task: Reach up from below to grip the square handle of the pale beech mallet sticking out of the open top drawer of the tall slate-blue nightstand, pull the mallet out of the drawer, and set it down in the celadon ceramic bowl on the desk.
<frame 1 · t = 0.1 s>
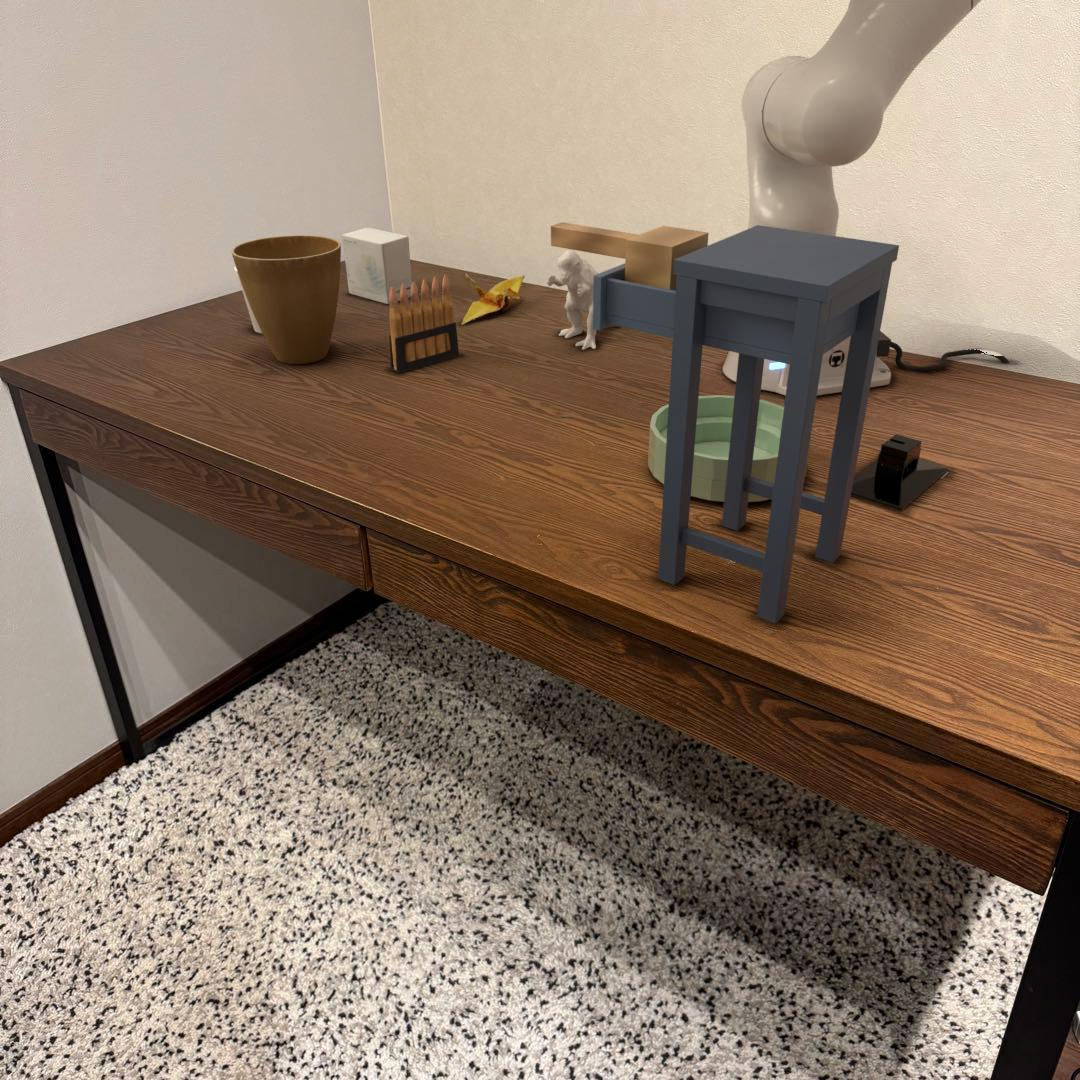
ammunition clip: (425, 364, 137), on the table
dinosaur figurine: (593, 336, 146), on the table
nightstand: (741, 563, 89), on the table
origami crane: (494, 311, 157), on the table
bowl: (725, 470, 106), on the table
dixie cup: (272, 328, 151), on the table
plant pot: (302, 357, 140), on the table
cosmetics box: (381, 296, 166), on the table
black slotted stand: (893, 482, 103), on the table
mallet: (663, 305, 83), point 23 cm above the table, touching nightstand
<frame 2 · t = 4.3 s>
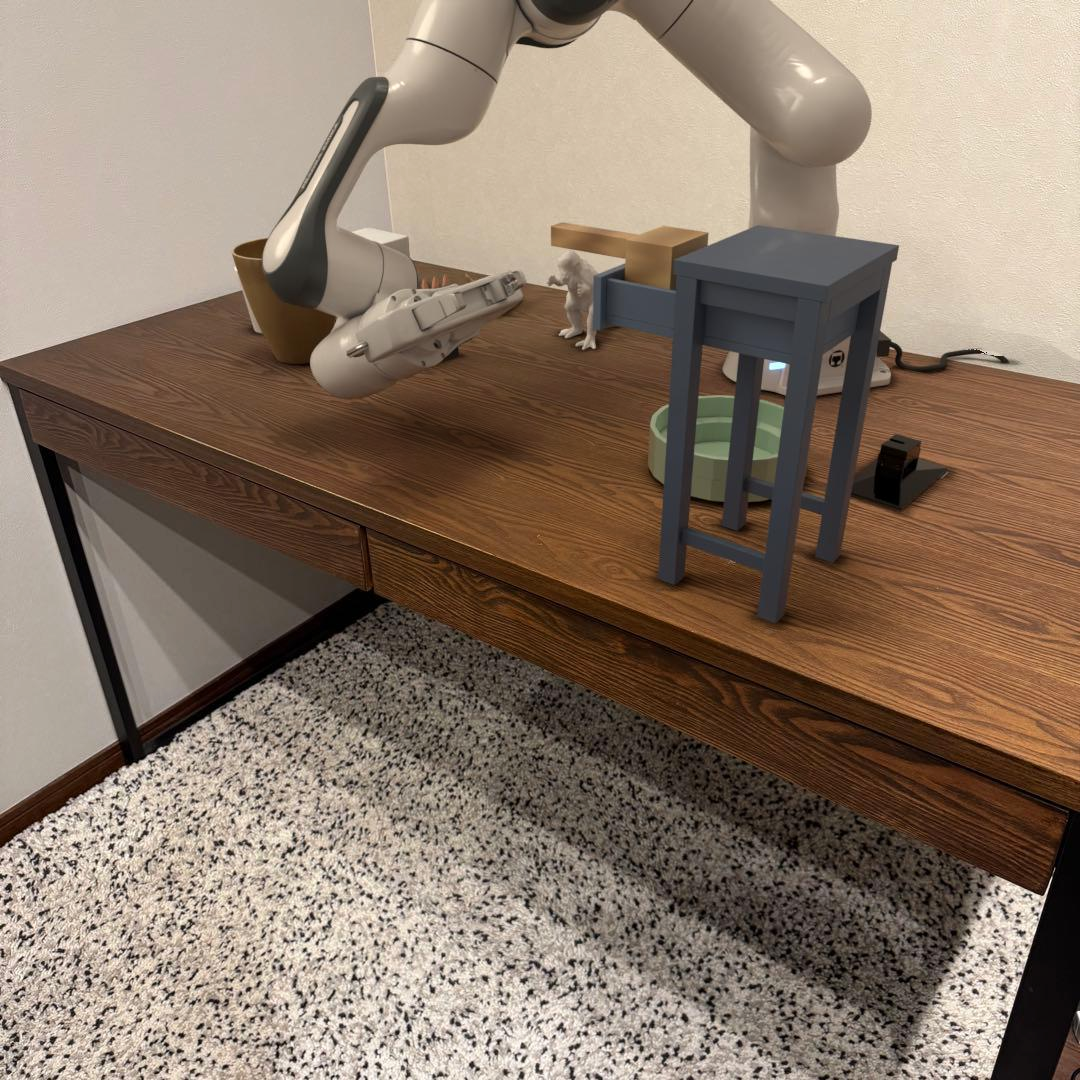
hand: (490, 288, 94), 21 cm above the table, tool pointing upward, fingers open, 8 cm apart
nothing on the table moved.
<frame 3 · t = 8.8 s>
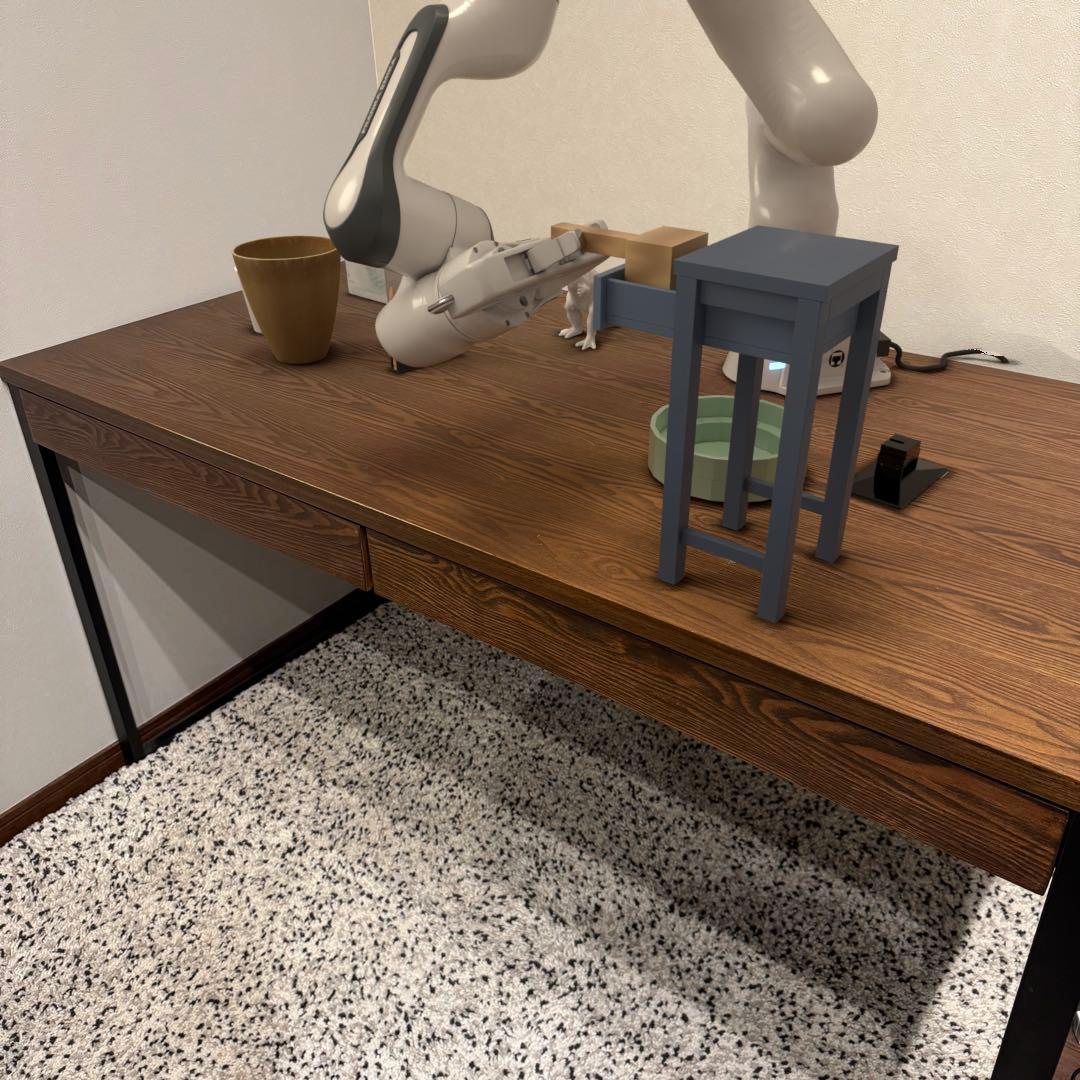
hand: (590, 234, 84), 28 cm above the table, tool pointing upward, fingers closed on mallet
mallet: (663, 305, 83), point 23 cm above the table, touching gripper, nightstand
everything else where it was.
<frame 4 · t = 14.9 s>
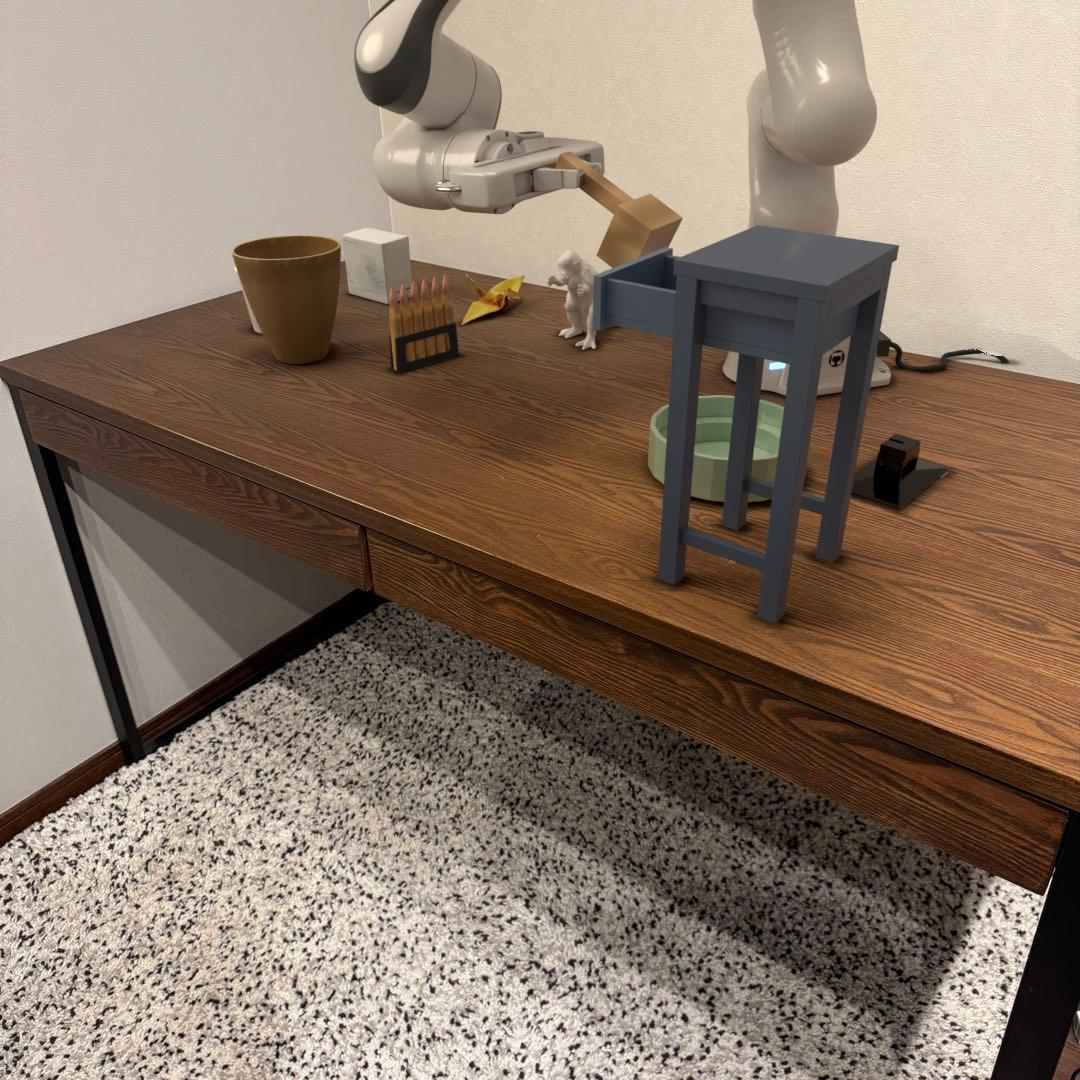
hand: (590, 175, 98), 30 cm above the table, tool horizontal, fingers closed on mallet
mallet: (628, 261, 100), point 22 cm above the table, tilted 26°, touching gripper
everything else where it was.
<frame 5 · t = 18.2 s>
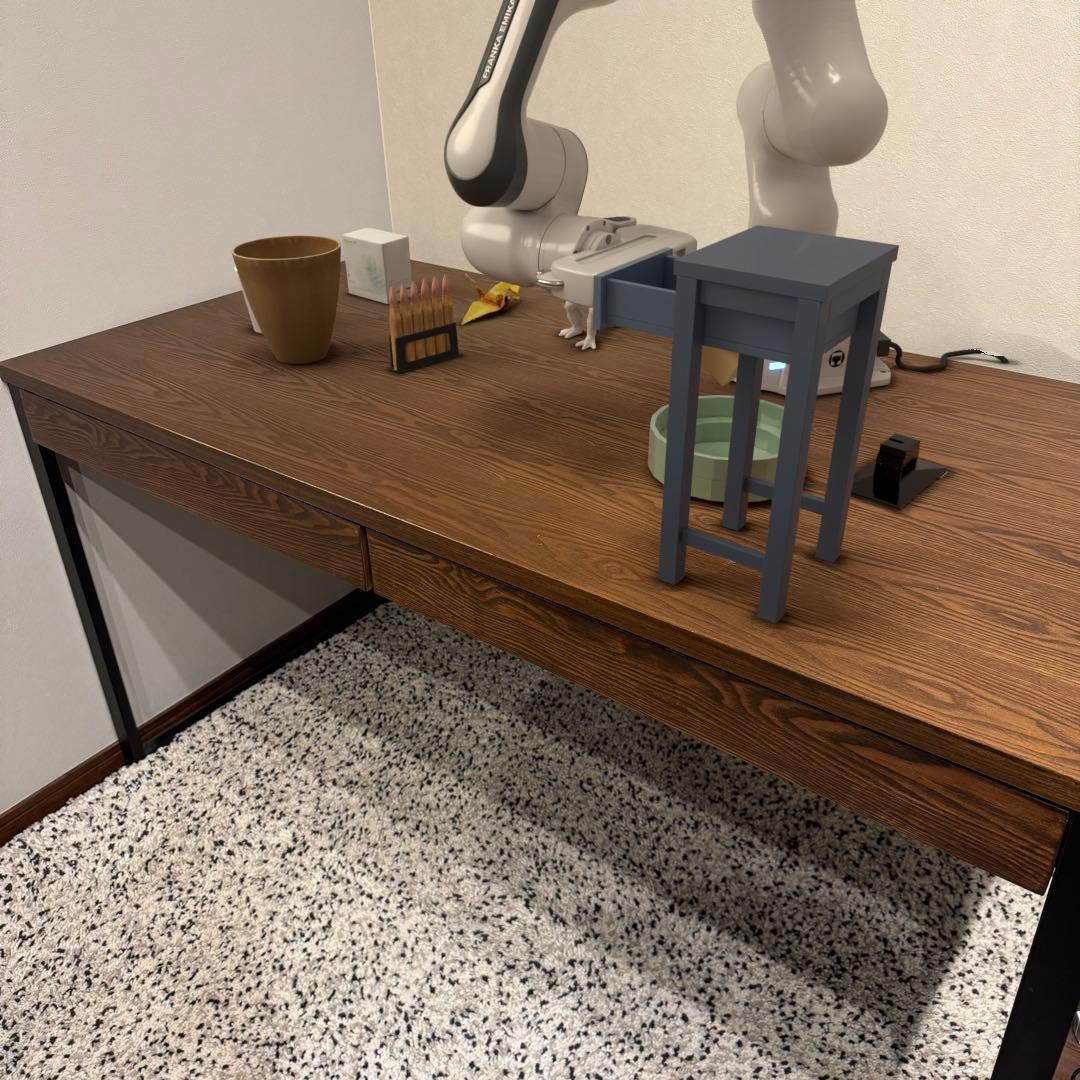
hand: (691, 278, 99), 21 cm above the table, tool horizontal, fingers closed on mallet
mallet: (721, 363, 101), point 12 cm above the table, tilted 30°, touching gripper
everything else where it was.
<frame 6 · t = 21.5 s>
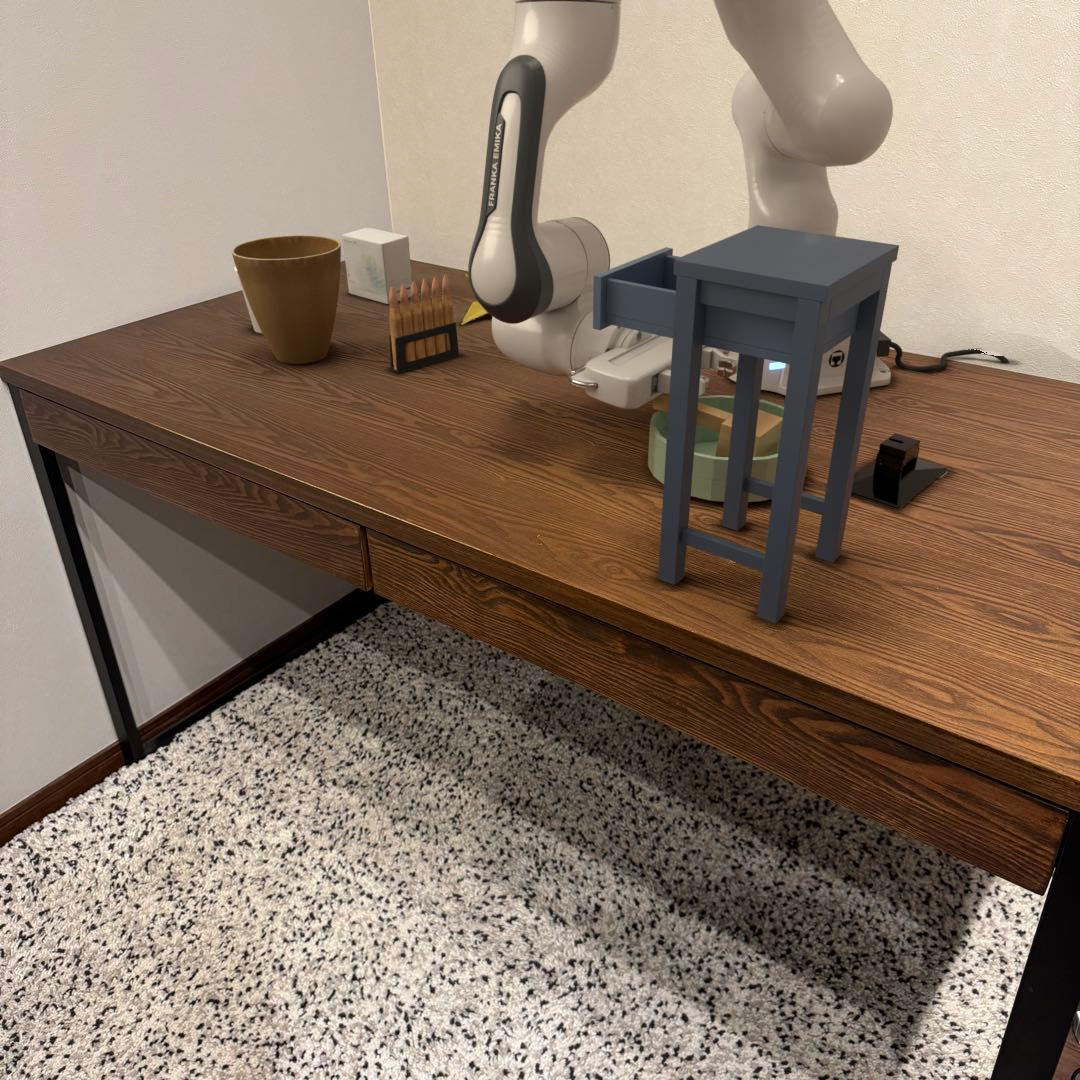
hand: (721, 377, 101), 11 cm above the table, tool horizontal, fingers open, 5 cm apart
mallet: (742, 469, 104), point 1 cm above the table, tilted 5°, touching bowl
everything else where it was.
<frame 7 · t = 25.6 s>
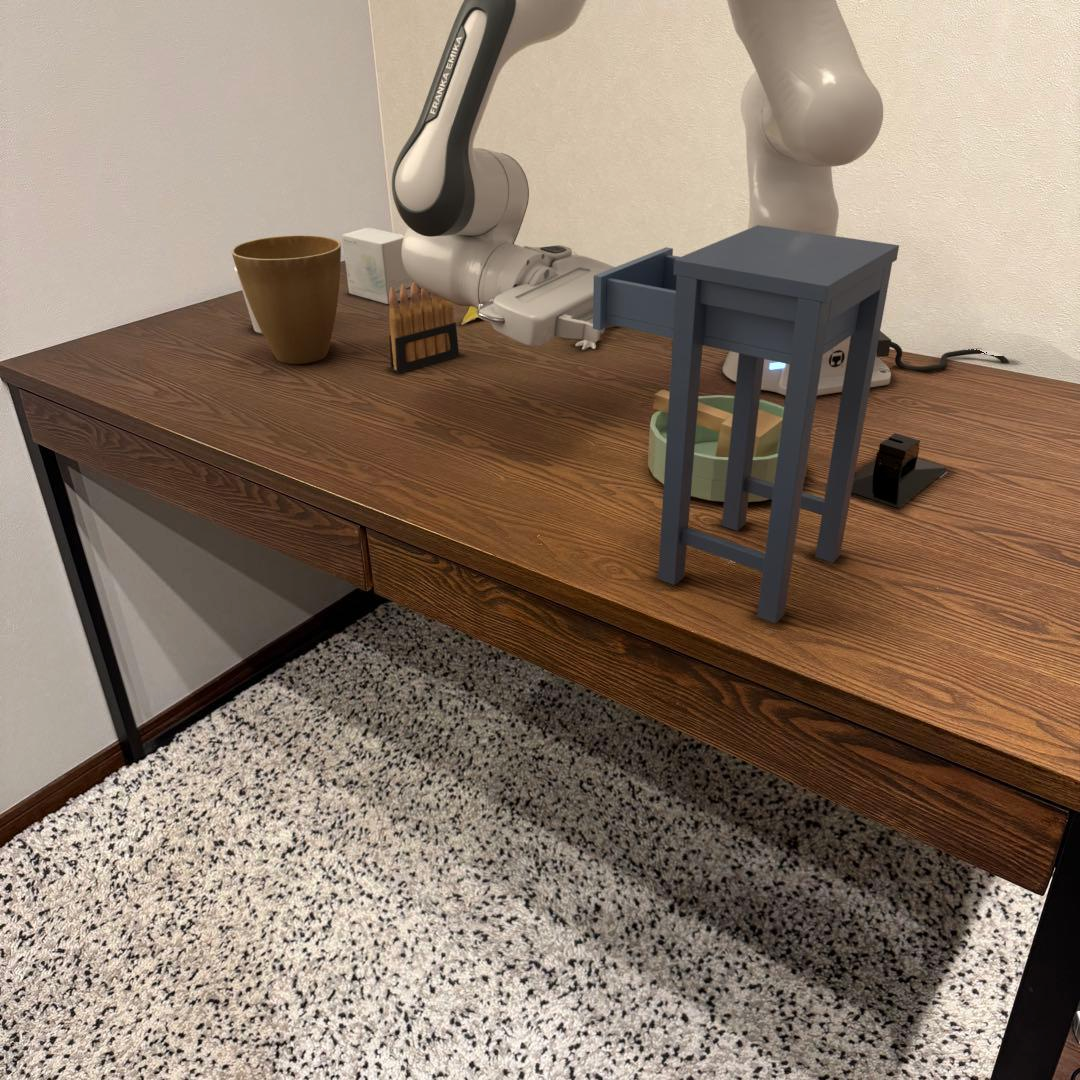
hand: (622, 321, 106), 15 cm above the table, tool horizontal, fingers open, 8 cm apart
nothing on the table moved.
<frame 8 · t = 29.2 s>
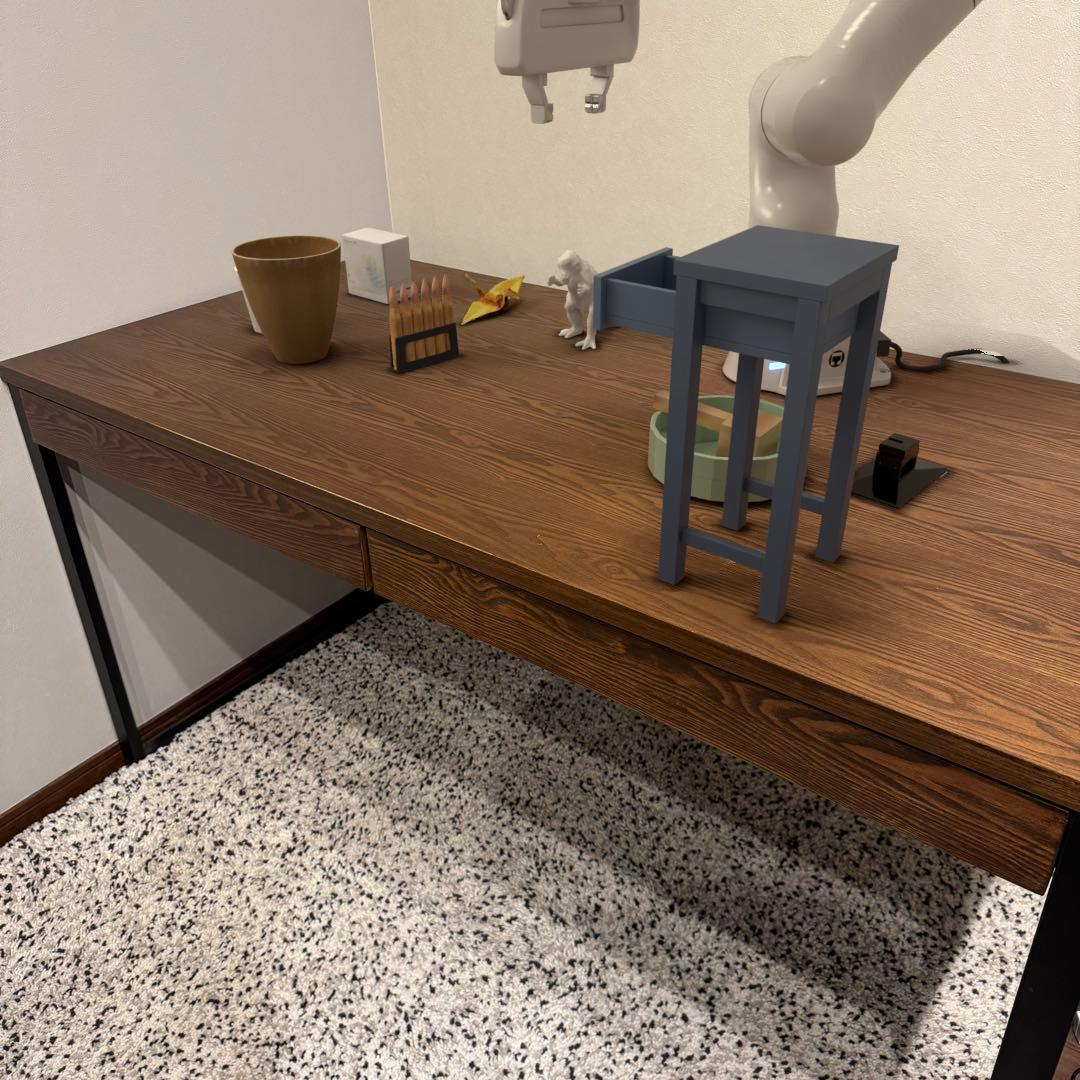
hand: (569, 117, 99), 35 cm above the table, tool pointing down, fingers open, 8 cm apart
nothing on the table moved.
at the end: mallet 2.2 cm from the bowl (horizontally); mallet touching bowl; the gripper is holding nothing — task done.
